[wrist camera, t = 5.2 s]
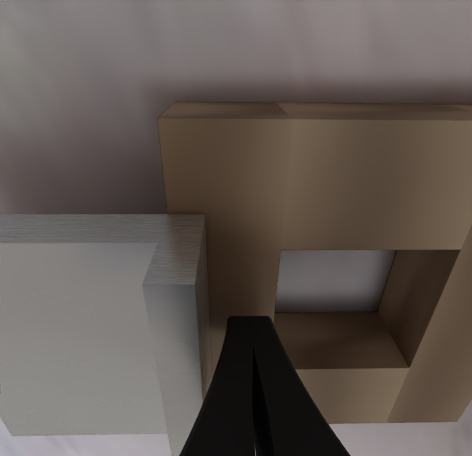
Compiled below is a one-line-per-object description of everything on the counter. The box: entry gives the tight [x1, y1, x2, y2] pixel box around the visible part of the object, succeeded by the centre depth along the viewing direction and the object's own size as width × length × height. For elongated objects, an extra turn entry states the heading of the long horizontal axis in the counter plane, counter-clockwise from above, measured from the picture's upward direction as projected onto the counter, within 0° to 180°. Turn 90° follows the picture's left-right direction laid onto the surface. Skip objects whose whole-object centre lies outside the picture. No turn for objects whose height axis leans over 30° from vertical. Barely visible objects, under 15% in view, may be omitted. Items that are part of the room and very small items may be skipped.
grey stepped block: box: [0, 214, 212, 456], centre depth 9 cm, size 7×8×3 cm
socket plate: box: [157, 102, 472, 424], centre depth 12 cm, size 12×13×3 cm
